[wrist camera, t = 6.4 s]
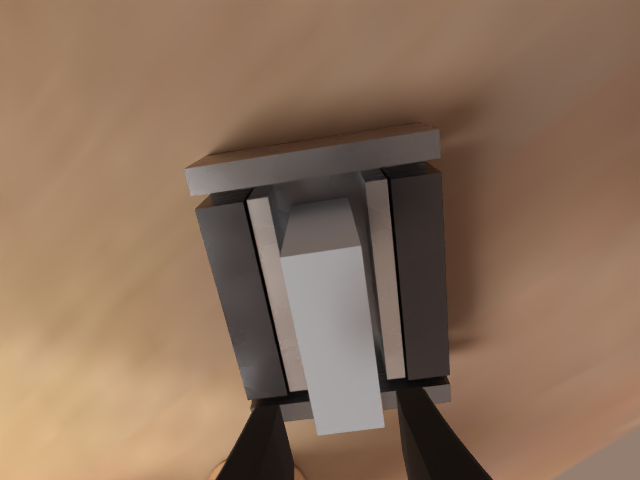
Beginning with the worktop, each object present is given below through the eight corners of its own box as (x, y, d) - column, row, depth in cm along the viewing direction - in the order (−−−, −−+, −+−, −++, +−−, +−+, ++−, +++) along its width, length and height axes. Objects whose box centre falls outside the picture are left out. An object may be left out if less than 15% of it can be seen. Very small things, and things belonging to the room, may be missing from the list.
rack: (418, 122, 16) (442, 129, 13) (432, 358, 20) (452, 406, 17) (206, 155, 17) (180, 170, 14) (263, 380, 21) (254, 430, 18)
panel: (347, 196, 16) (361, 245, 11) (366, 336, 19) (384, 427, 14) (291, 205, 17) (279, 257, 11) (317, 342, 19) (317, 435, 14)
